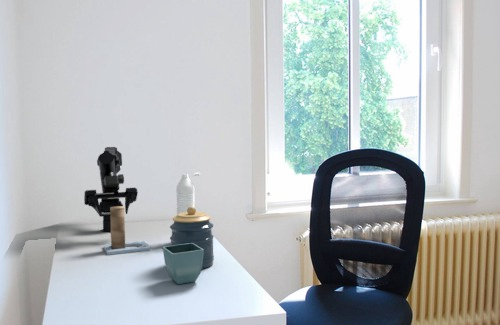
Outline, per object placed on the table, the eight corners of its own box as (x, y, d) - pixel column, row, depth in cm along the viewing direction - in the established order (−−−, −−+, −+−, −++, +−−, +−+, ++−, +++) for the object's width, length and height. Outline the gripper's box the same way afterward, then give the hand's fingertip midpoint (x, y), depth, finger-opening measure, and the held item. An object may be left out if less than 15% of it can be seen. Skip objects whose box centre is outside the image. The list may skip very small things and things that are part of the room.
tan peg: (120, 247, 163) (119, 205, 163) (128, 249, 160) (127, 207, 160) (108, 249, 160) (107, 207, 159) (116, 251, 157) (115, 208, 156)
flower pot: (172, 288, 120) (172, 253, 119) (162, 278, 127) (162, 246, 127) (205, 283, 124) (204, 249, 123) (193, 274, 132) (192, 242, 131)
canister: (175, 272, 133) (174, 211, 132) (166, 261, 145) (165, 204, 144) (219, 267, 138) (218, 208, 137) (207, 257, 150) (206, 202, 149)
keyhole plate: (144, 243, 169) (144, 240, 169) (151, 250, 159) (151, 247, 159) (103, 247, 163) (103, 244, 163) (107, 255, 153) (107, 251, 153)
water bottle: (179, 244, 167) (178, 174, 166) (175, 240, 173) (174, 173, 172) (203, 242, 170) (202, 173, 169) (198, 238, 176) (197, 172, 175)
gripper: (83, 168, 169) (87, 203, 160) (136, 166, 177) (142, 199, 168) (82, 187, 177) (86, 221, 168) (132, 184, 185) (138, 217, 176)
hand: (113, 214), depth 170 cm, fingers open, 9 cm apart
